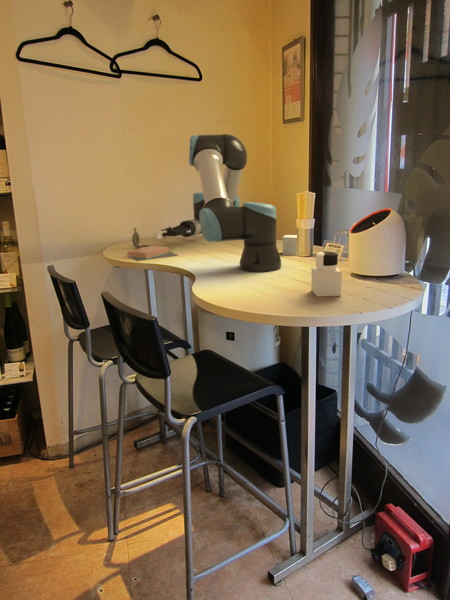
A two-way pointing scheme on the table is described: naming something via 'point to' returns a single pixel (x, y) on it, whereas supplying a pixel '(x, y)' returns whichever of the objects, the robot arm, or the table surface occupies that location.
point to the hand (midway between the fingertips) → (156, 235)
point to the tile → (148, 252)
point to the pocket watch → (137, 240)
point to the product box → (290, 245)
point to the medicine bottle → (326, 275)
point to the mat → (158, 256)
